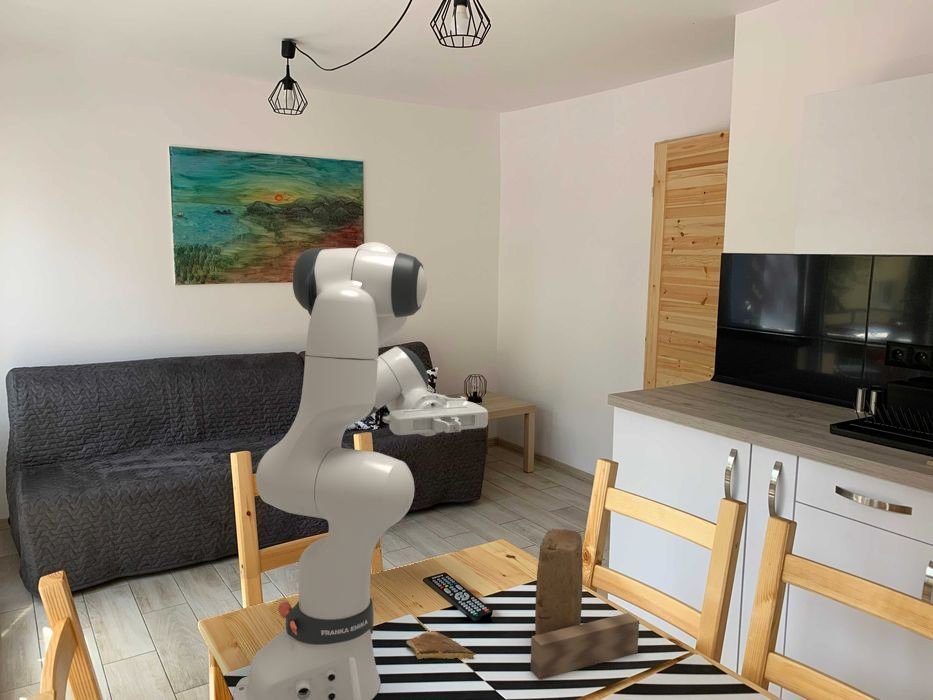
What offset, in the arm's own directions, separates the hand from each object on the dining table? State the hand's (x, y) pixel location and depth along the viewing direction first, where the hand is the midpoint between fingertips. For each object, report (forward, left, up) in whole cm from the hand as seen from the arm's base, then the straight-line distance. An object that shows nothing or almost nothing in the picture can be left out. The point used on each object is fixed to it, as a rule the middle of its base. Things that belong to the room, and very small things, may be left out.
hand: (454, 428), depth 136 cm
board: (+13, -27, -36) cm, 47 cm away
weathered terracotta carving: (+12, -19, -36) cm, 43 cm away
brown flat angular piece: (-8, -13, -37) cm, 40 cm away
